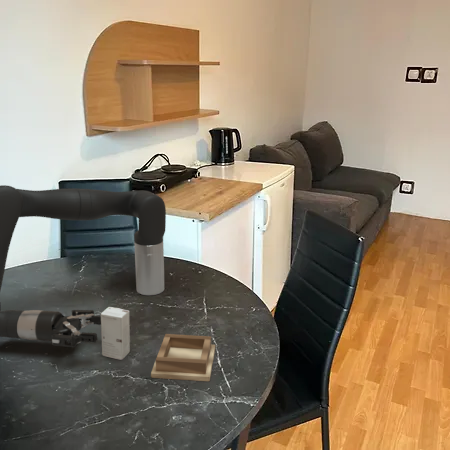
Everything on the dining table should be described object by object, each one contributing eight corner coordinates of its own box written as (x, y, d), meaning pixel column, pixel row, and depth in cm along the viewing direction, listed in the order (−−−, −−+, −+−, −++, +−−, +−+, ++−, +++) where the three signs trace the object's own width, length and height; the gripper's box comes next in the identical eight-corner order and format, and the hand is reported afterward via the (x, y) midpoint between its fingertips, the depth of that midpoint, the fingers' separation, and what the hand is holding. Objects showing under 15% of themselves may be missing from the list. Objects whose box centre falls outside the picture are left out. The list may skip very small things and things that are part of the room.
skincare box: (101, 356, 122) (98, 313, 118) (110, 347, 126) (108, 305, 122) (123, 360, 120) (120, 318, 116) (131, 351, 124) (129, 309, 121)
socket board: (162, 345, 127) (162, 331, 126) (215, 348, 126) (215, 334, 125) (151, 377, 114) (150, 362, 112) (209, 381, 113) (209, 366, 112)
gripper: (25, 326, 115) (91, 330, 113) (51, 299, 128) (110, 302, 127) (29, 353, 117) (93, 357, 116) (53, 324, 130) (111, 327, 129)
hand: (102, 328), depth 121 cm, fingers open, 8 cm apart
